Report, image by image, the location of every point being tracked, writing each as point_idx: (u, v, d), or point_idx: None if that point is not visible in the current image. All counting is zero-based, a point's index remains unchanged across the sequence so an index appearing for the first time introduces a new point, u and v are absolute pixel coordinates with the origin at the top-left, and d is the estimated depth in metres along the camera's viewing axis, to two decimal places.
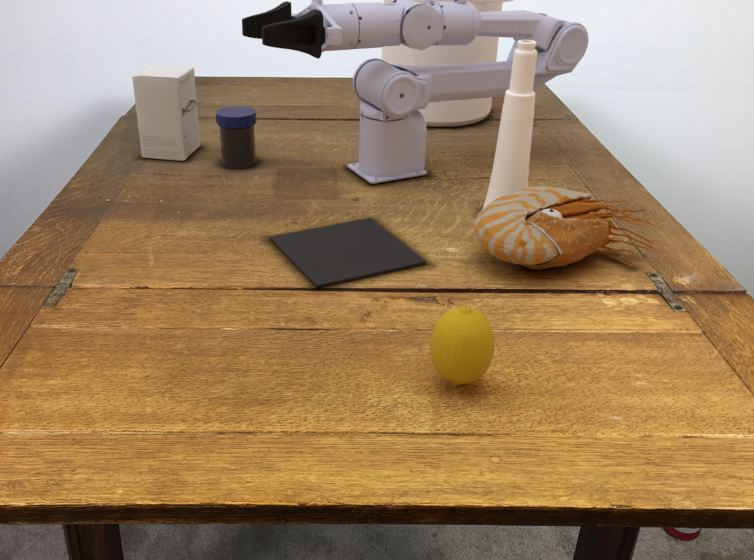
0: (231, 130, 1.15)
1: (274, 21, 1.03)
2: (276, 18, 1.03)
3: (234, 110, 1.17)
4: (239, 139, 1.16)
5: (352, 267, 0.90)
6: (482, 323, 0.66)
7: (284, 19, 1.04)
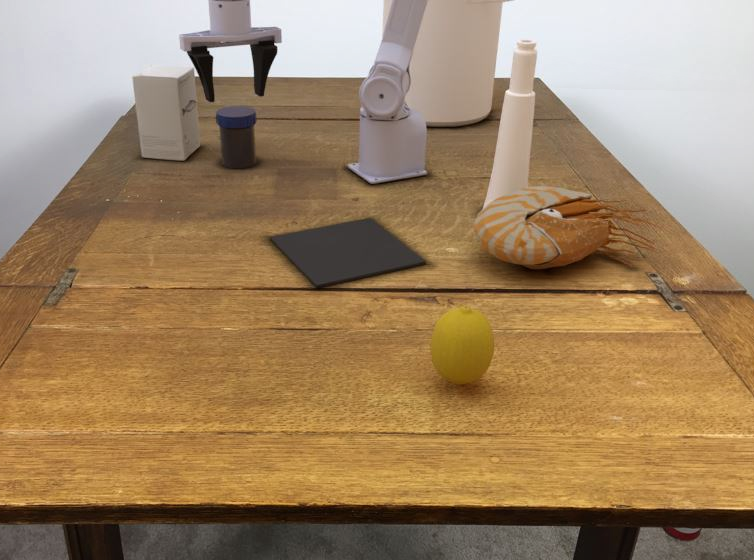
0: (231, 130, 1.15)
1: (255, 63, 1.15)
2: (255, 61, 1.15)
3: (234, 110, 1.17)
4: (239, 139, 1.16)
5: (352, 267, 0.90)
6: (482, 323, 0.66)
7: (255, 53, 1.14)
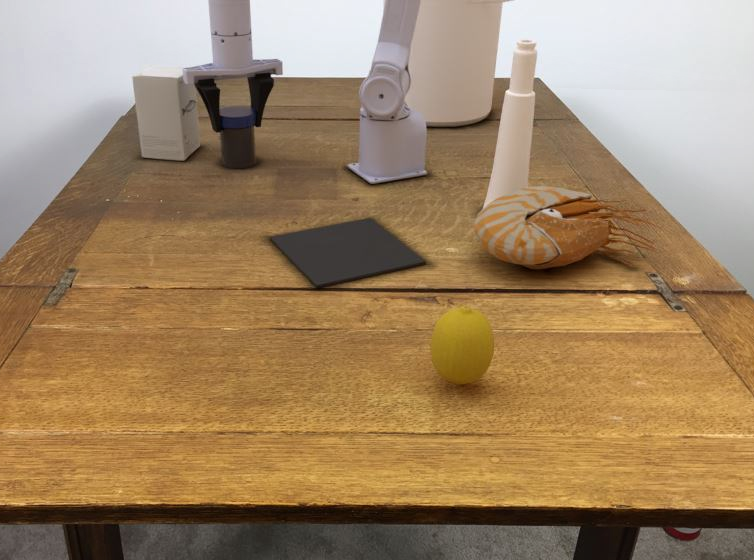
0: (231, 130, 1.15)
1: (252, 95, 1.17)
2: (252, 92, 1.17)
3: (234, 110, 1.17)
4: (239, 139, 1.16)
5: (352, 267, 0.90)
6: (482, 323, 0.66)
7: (252, 85, 1.16)
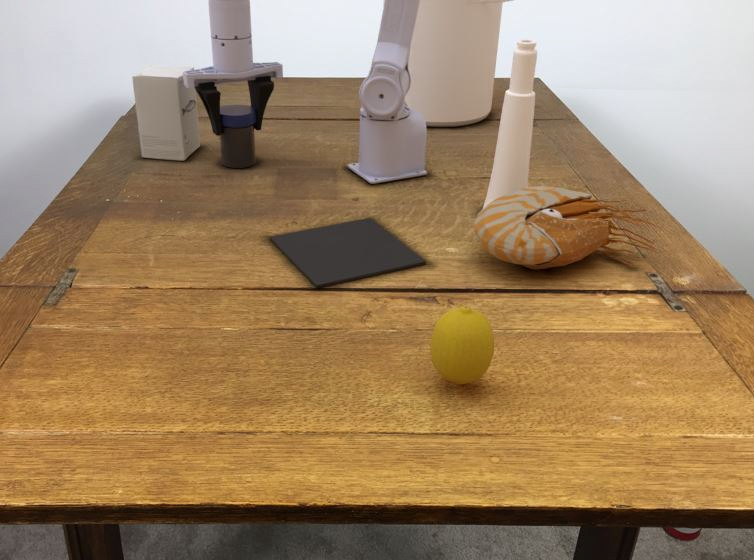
0: (233, 129, 1.15)
1: (253, 98, 1.17)
2: (252, 96, 1.17)
3: (232, 109, 1.16)
4: (240, 139, 1.16)
5: (352, 267, 0.90)
6: (482, 323, 0.66)
7: (252, 88, 1.17)
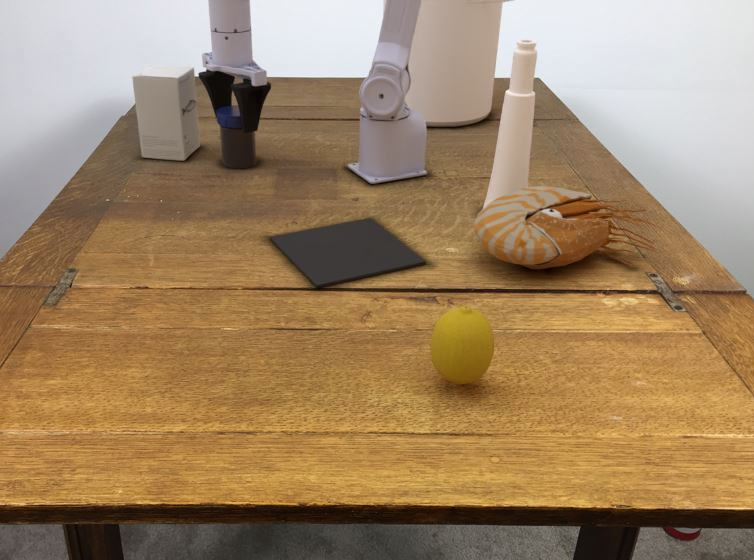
0: None
1: (218, 91, 1.17)
2: (216, 89, 1.17)
3: (237, 111, 1.16)
4: None
5: (352, 267, 0.90)
6: (482, 323, 0.66)
7: (216, 81, 1.17)
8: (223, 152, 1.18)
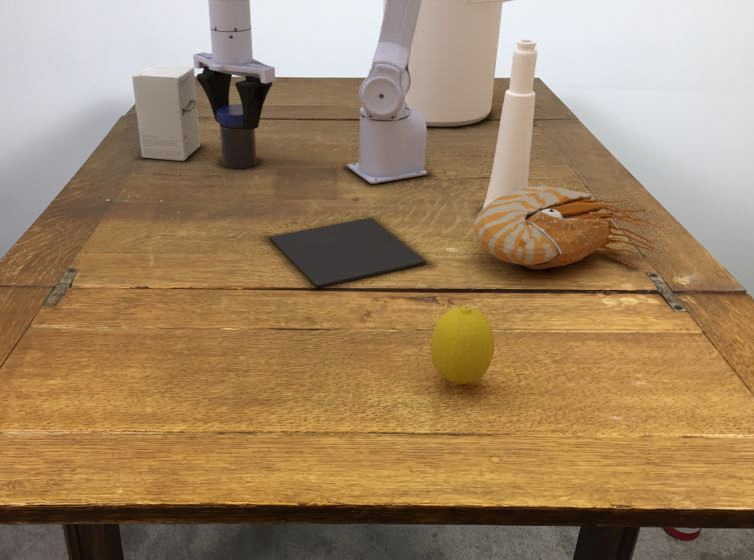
0: None
1: (217, 92, 1.16)
2: (215, 90, 1.16)
3: (240, 109, 1.16)
4: None
5: (352, 267, 0.90)
6: (482, 323, 0.66)
7: (216, 82, 1.15)
8: (224, 152, 1.18)
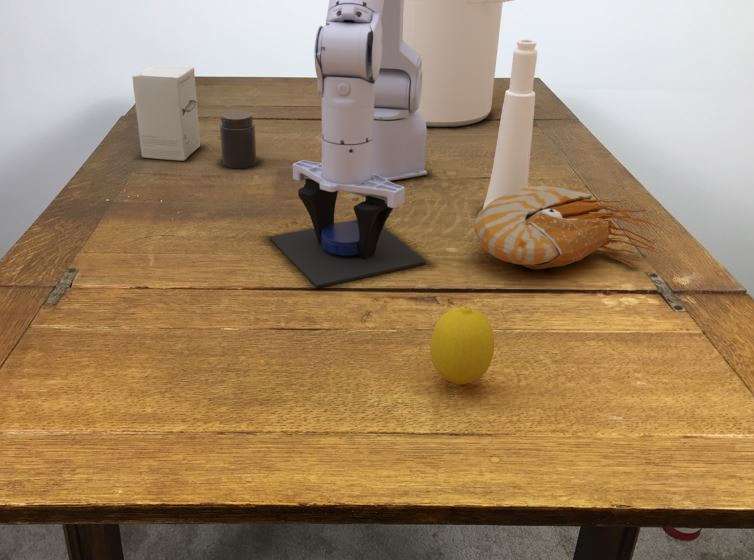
0: (253, 123, 1.18)
1: (323, 210, 0.93)
2: (321, 208, 0.92)
3: (350, 232, 0.93)
4: None
5: (352, 267, 0.90)
6: (482, 323, 0.66)
7: (321, 199, 0.92)
8: (224, 152, 1.18)
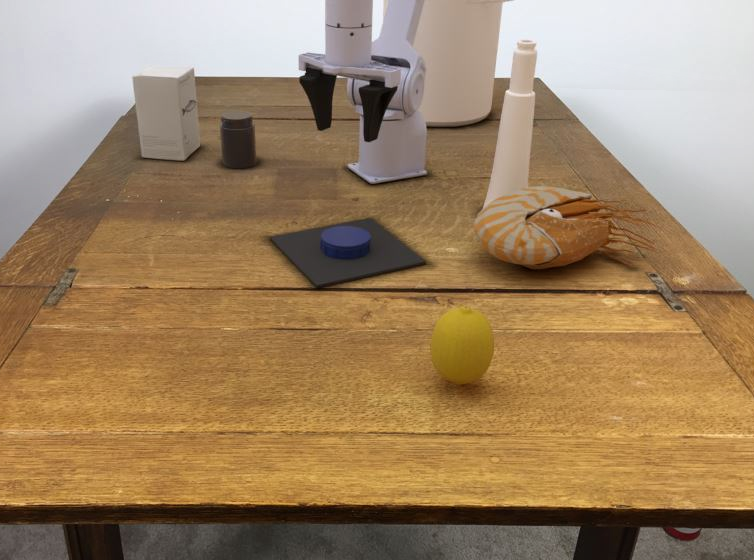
0: (253, 123, 1.18)
1: (322, 96, 1.02)
2: (320, 95, 1.01)
3: (350, 235, 0.93)
4: None
5: (352, 267, 0.90)
6: (482, 323, 0.66)
7: (320, 86, 1.01)
8: (224, 152, 1.18)
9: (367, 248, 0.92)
